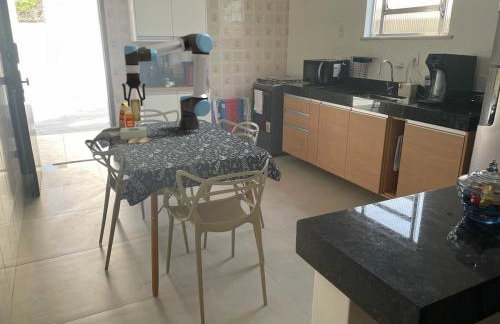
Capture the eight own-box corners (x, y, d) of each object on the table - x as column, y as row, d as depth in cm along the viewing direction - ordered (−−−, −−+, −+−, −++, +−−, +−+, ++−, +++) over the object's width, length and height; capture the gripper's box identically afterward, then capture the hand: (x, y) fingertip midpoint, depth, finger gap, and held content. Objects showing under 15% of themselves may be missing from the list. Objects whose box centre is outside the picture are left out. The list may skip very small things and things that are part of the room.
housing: (146, 134, 256) (146, 126, 255) (146, 138, 245) (146, 130, 243) (121, 135, 252) (121, 128, 251) (120, 139, 241) (120, 132, 240)
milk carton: (126, 130, 265) (123, 102, 259) (118, 128, 271) (115, 100, 264) (137, 128, 272) (134, 100, 266) (129, 126, 277) (126, 99, 271)
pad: (148, 138, 244) (148, 137, 244) (148, 142, 235) (148, 141, 235) (128, 139, 241) (128, 138, 241) (128, 143, 232) (128, 142, 232)
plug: (140, 119, 237) (139, 98, 233) (140, 121, 233) (139, 100, 229) (132, 120, 236) (130, 99, 232) (132, 121, 231) (130, 100, 227)
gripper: (148, 71, 231) (151, 110, 238) (117, 72, 227) (120, 111, 234) (148, 72, 224) (151, 112, 231) (116, 73, 220) (120, 113, 227)
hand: (135, 111), depth 233 cm, fingers closed on plug, 5 cm apart
